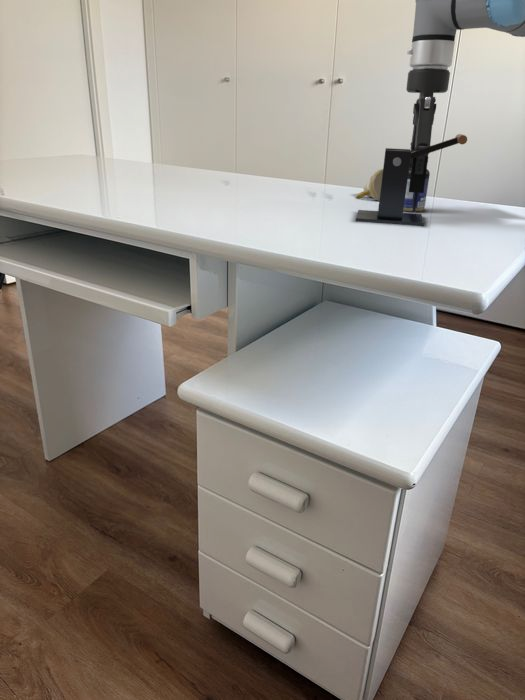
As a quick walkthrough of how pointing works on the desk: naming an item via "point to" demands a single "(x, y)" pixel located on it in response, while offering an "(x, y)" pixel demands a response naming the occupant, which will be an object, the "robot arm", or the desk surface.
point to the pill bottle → (415, 195)
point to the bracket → (393, 192)
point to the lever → (440, 146)
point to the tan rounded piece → (372, 186)
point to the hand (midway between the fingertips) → (414, 188)
